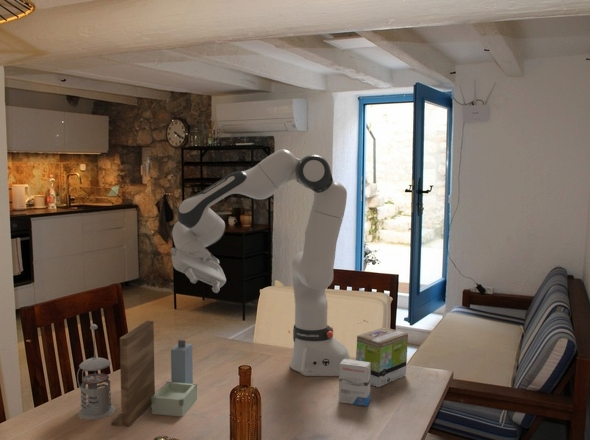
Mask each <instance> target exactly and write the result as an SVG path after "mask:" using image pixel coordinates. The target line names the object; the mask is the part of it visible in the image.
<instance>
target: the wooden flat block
mask: <svg viewBox="0 0 590 440" xmlns="http://www.w3.org/2000/svg"><path fill="white" fill-rule="evenodd" d="M154 325H155V324H154V321H153V320H146V321H144V322H143V323H141V324H139V325H138V326H136V327H135V328H133V329H132V330H131V331H128V332H127V333H126V334H124V335H122V336H121V337H119V361H120V362H119V364H120V396H121V397H120V399H121V400H120V403H121V404H120V405H121V407H120V408H121V412H120V413H119V414H118V415H117V416H116V417H115V418H114V419H113V420H112V421H111V426H113V427H121V428H122V427H123V428H130V427H131V426H132V425H133V424H134V423H135V422H136V421H137V420H138V419H139V418H140V417H141V416H142V415H143V414H144V413H145V412H146V411H147V410H148V409H149V408H150V407H152V396H153V395H154V394H155V393H156V390H155V387H156V386H155V383H156V381H155V377H156V376H155V338H154V337H155V333H154V332H155V328H154Z"/></svg>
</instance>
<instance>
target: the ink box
mask: <svg viewBox="0 0 590 440" xmlns="http://www.w3.org/2000/svg"><path fill="white" fill-rule="evenodd" d="M349 359H350V358H349ZM349 359H343V360H342V361H341V363H340V364H339V376H338V403H341V402H342V404H348V403H349V404H348V405H355V404H356V405H357V406H362V405H363V406H364V407H367V406H368V405H369V404H370V401H371V385H370V376H371V362H364V361H356V359H355V360H354V359H352V360H349ZM356 405H355V406H356Z"/></svg>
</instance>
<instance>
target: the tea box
mask: <svg viewBox="0 0 590 440" xmlns="http://www.w3.org/2000/svg"><path fill="white" fill-rule="evenodd" d="M408 340H409V334H408V333H407V332H404V331H400V330H396V329H392V328H390V327H386V326H383V327H380V328H377V329H374V330H372V331H369V332H365V333H361V334H358V335H357V336H356V349H355V350H356V351H355V353H356V355H355V360H356V361H364V362H371V376H370V384H371V385H370V386H372V385H373V387H375V386H376V387H375V388H378V387H379V388H381V387H383V386H384V385H386V384H389V382H390V383H391V381H392V382H393V381H397V380H399V379H401V378H403V376H404V377H406V376H405V375H407V362H408V359H407V358H408V343H409V342H408ZM398 378H399V379H398ZM396 379H397V380H396Z"/></svg>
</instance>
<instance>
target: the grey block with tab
mask: <svg viewBox="0 0 590 440" xmlns="http://www.w3.org/2000/svg"><path fill="white" fill-rule="evenodd" d="M177 341H178V342H177V344H176V345H174V346H173V347H172V348H171V349H170V363H171V364H170V370H171V371H170V374H171V377H170V379H171V381H170V382H178V383H189V384H194V381H193V380H194V376H193V373H194V372H193V370H194V369H193V365H194V363H193V343H186V340H185V339H178V340H177Z"/></svg>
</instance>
